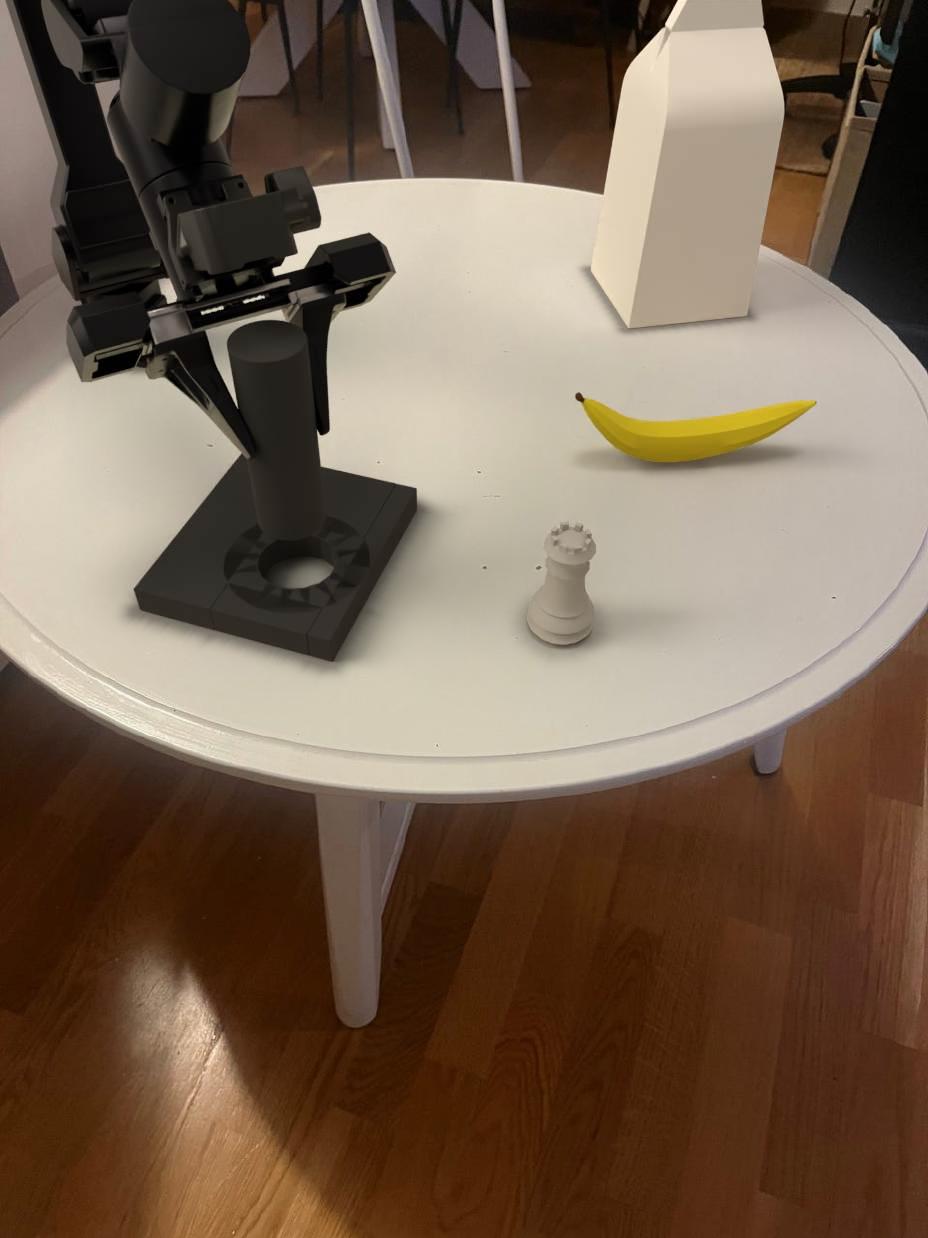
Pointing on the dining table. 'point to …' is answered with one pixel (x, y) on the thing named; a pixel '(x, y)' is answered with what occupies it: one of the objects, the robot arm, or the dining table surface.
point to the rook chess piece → (564, 587)
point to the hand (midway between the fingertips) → (289, 445)
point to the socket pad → (242, 554)
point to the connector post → (279, 426)
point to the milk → (691, 168)
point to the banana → (690, 431)
